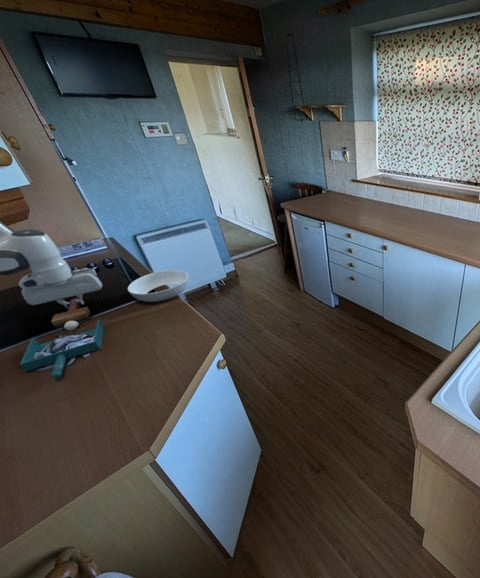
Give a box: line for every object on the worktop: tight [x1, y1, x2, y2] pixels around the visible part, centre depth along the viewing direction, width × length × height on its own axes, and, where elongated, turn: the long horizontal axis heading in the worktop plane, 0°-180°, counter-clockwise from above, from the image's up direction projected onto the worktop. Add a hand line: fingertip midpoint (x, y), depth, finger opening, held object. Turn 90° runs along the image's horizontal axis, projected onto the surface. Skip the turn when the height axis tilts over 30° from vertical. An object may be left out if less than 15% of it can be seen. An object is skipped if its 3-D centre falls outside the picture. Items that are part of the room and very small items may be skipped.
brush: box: [50, 297, 91, 329], centre depth 110 cm, size 15×9×4 cm, turn 36°
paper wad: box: [63, 321, 80, 332], centre depth 103 cm, size 4×4×4 cm
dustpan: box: [19, 319, 105, 379], centre depth 92 cm, size 24×17×3 cm
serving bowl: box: [127, 269, 190, 303], centre depth 123 cm, size 21×21×7 cm
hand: (75, 305), depth 112 cm, fingers closed on brush, 2 cm apart
